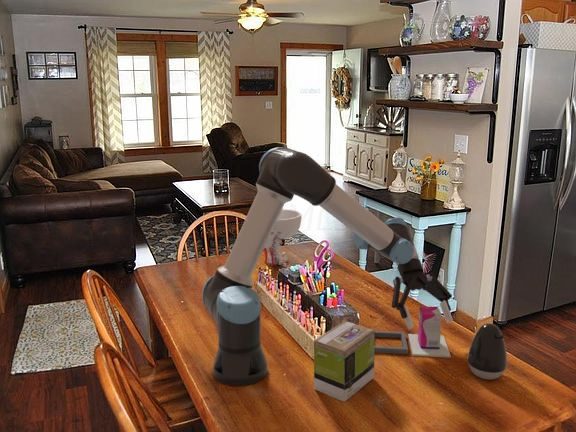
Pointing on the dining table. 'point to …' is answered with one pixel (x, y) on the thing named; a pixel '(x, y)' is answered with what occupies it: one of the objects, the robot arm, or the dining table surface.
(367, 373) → the tea box
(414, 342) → the white flat square tile
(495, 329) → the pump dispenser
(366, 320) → the dining table surface
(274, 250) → the white sculpted pedestal bowl
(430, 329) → the supplement box
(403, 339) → the socket frame
